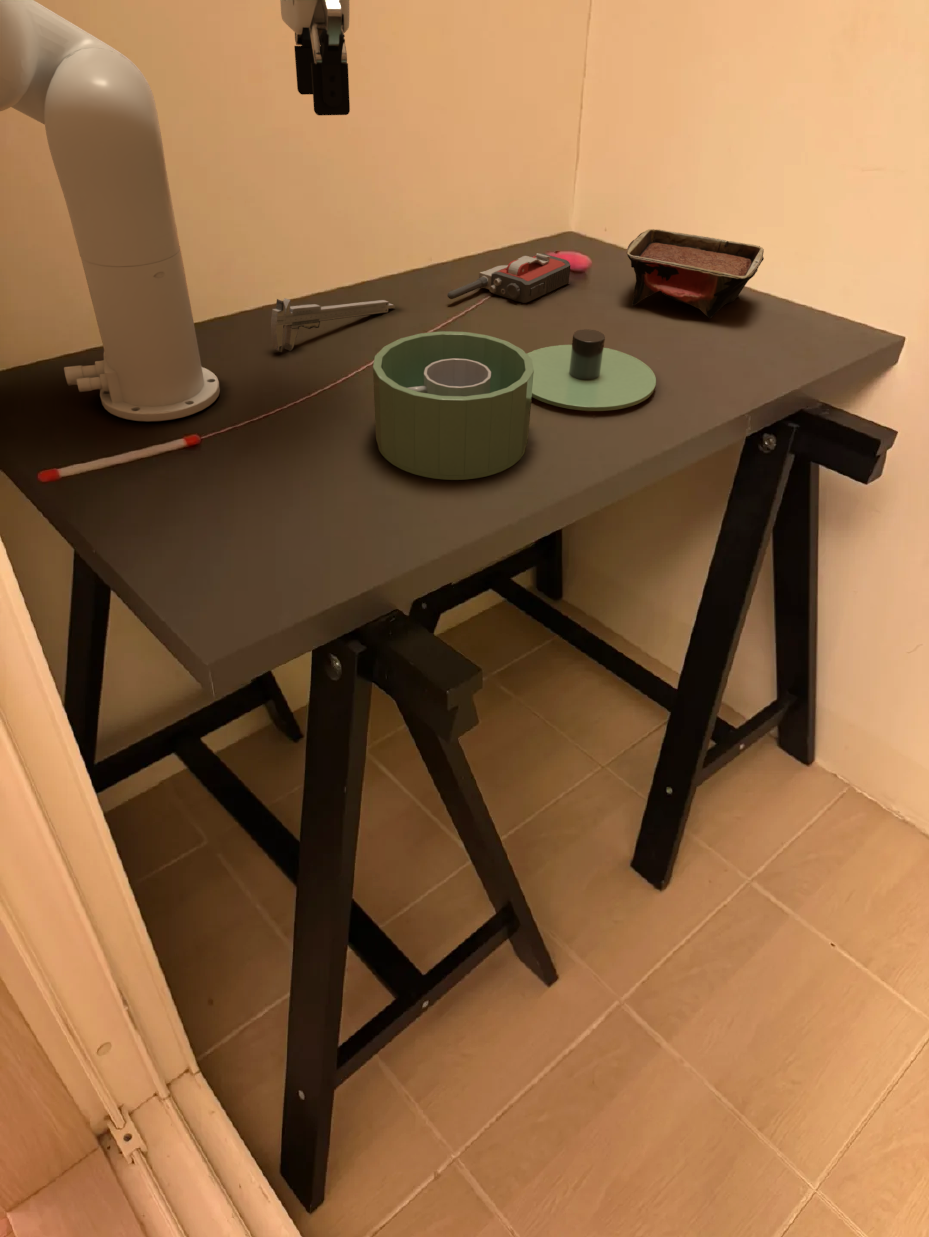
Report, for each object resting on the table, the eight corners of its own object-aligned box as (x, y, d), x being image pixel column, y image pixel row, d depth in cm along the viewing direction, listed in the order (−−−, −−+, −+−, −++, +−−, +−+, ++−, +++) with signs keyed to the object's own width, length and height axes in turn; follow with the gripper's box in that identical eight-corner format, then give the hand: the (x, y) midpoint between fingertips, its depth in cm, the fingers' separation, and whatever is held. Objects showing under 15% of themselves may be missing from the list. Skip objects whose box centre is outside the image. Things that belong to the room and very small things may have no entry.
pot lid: (544, 424, 94) (549, 374, 90) (492, 361, 106) (495, 315, 102) (680, 405, 98) (690, 357, 95) (616, 346, 110) (622, 302, 106)
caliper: (279, 355, 106) (273, 304, 102) (273, 353, 106) (267, 301, 102) (395, 309, 118) (394, 261, 114) (389, 307, 118) (388, 259, 114)
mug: (475, 417, 94) (478, 355, 89) (496, 447, 89) (500, 383, 85) (396, 428, 92) (395, 364, 87) (413, 458, 87) (412, 393, 82)
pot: (399, 490, 83) (396, 409, 78) (361, 415, 94) (357, 340, 89) (549, 467, 87) (557, 388, 82) (496, 398, 98) (500, 324, 93)
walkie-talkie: (527, 267, 132) (442, 304, 119) (530, 237, 129) (442, 271, 117) (576, 281, 127) (493, 321, 115) (579, 250, 125) (495, 287, 113)
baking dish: (720, 345, 116) (751, 271, 110) (601, 297, 121) (624, 222, 114) (747, 318, 127) (777, 249, 120) (637, 274, 131) (659, 205, 125)
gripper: (251, -136, 77) (271, 87, 88) (277, -135, 65) (297, 124, 76) (335, -131, 79) (344, 86, 90) (376, -130, 67) (381, 123, 78)
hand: (322, 103), depth 83 cm, fingers open, 9 cm apart
